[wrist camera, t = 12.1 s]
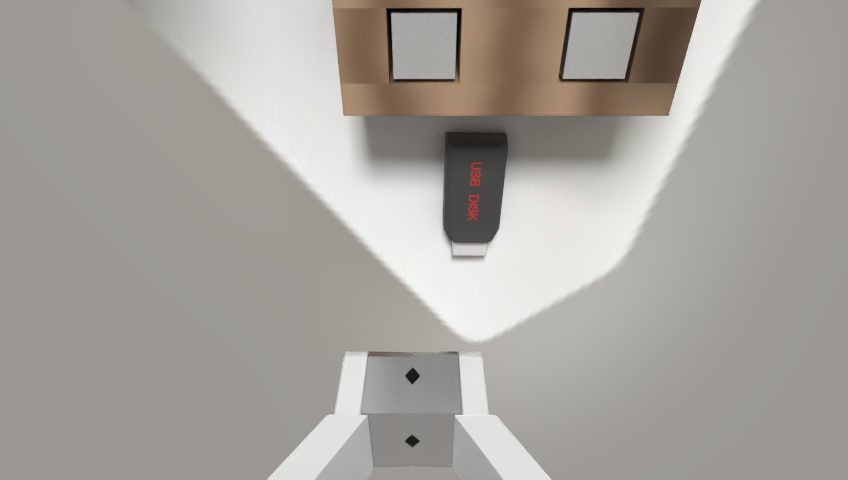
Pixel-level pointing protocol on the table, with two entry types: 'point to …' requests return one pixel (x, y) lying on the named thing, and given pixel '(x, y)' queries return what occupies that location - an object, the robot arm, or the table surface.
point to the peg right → (597, 43)
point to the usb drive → (473, 189)
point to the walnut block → (510, 60)
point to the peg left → (424, 43)
